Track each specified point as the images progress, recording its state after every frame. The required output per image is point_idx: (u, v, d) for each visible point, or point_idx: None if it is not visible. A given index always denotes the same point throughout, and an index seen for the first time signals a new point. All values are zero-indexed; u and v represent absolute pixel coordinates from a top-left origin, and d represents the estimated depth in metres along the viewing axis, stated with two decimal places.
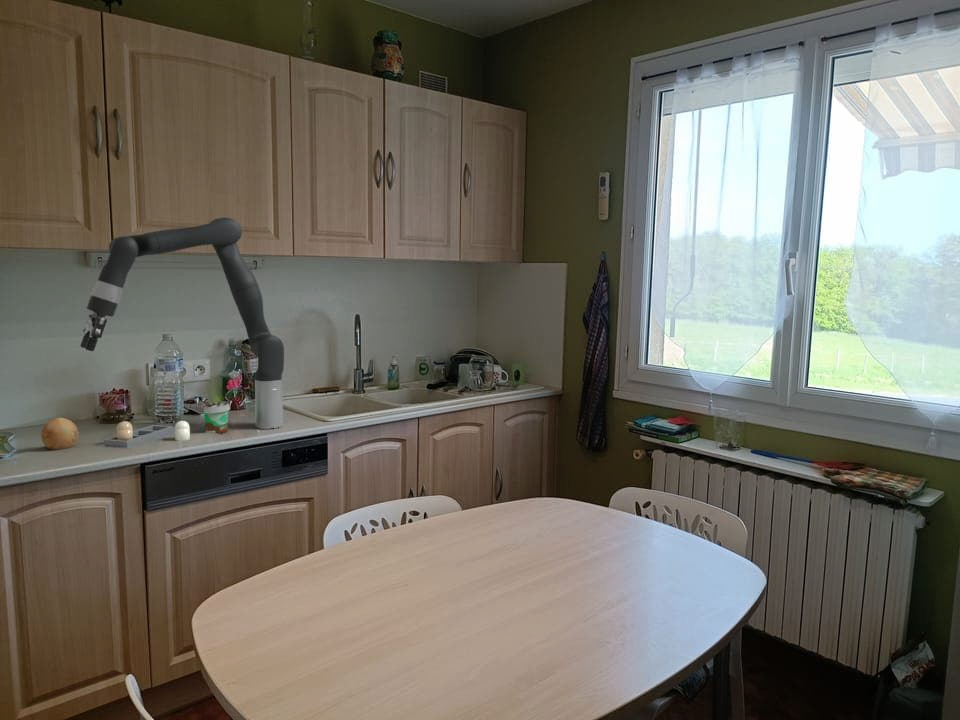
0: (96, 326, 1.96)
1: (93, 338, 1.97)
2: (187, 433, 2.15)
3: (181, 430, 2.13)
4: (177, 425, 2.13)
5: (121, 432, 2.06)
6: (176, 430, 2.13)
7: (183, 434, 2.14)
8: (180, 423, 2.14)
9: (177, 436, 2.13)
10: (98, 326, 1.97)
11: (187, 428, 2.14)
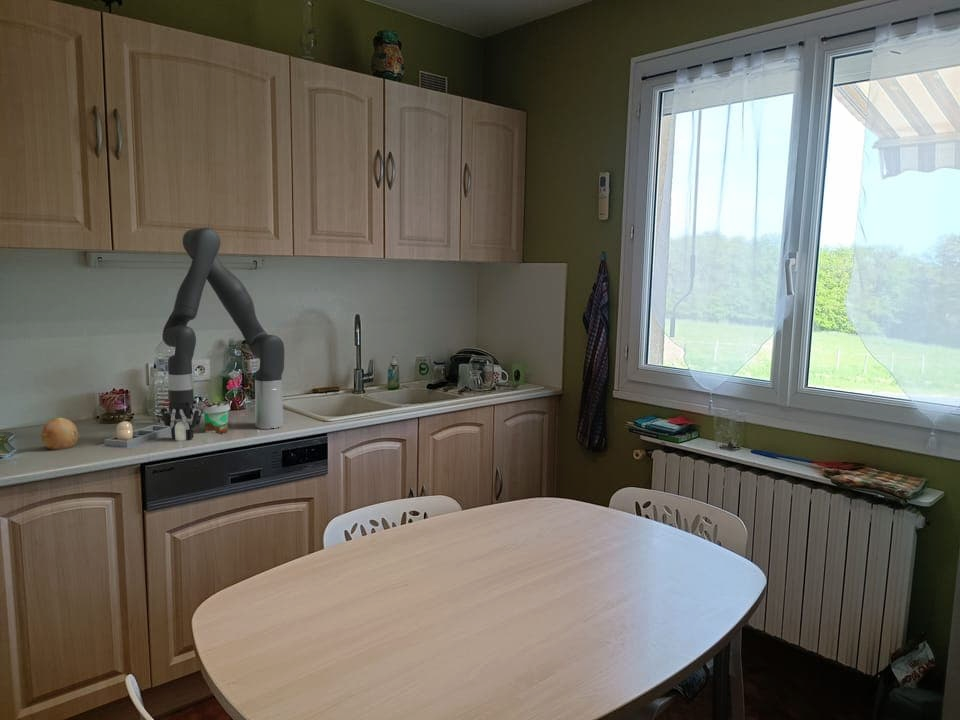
0: (196, 419, 2.13)
1: (191, 429, 2.14)
2: None
3: (181, 430, 2.13)
4: (177, 425, 2.13)
5: (121, 432, 2.06)
6: (176, 430, 2.13)
7: (183, 434, 2.14)
8: (180, 423, 2.14)
9: (177, 436, 2.13)
10: (197, 419, 2.13)
11: None
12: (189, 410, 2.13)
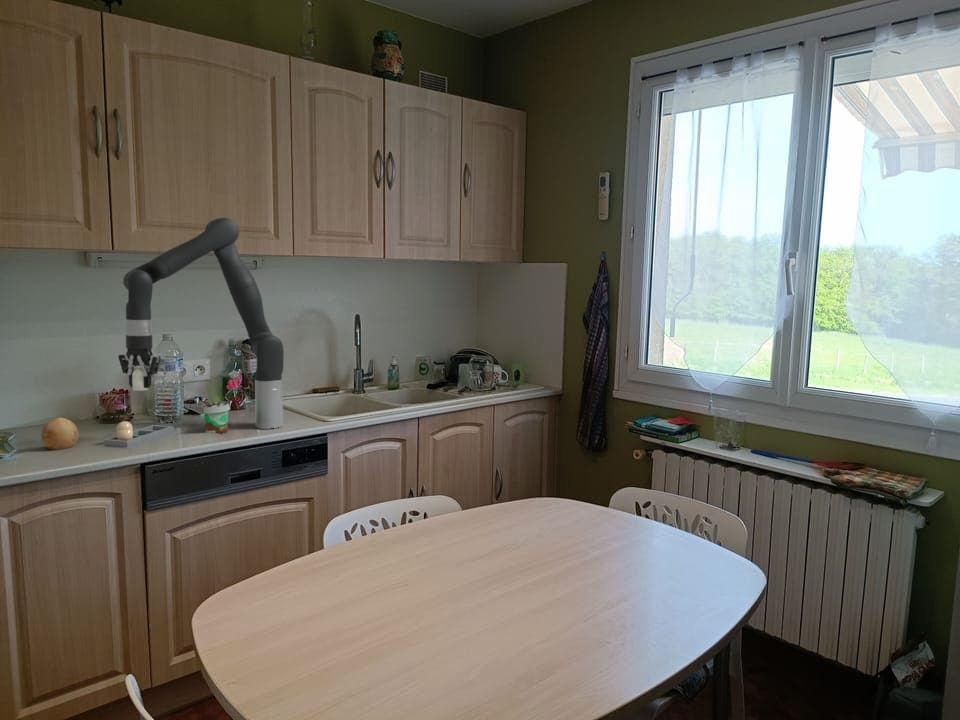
0: (154, 366, 2.10)
1: (149, 376, 2.11)
2: None
3: (138, 377, 2.10)
4: (134, 372, 2.10)
5: (121, 432, 2.06)
6: (133, 377, 2.10)
7: (140, 381, 2.11)
8: (138, 370, 2.11)
9: (135, 382, 2.10)
10: (155, 365, 2.11)
11: None
12: (147, 356, 2.10)
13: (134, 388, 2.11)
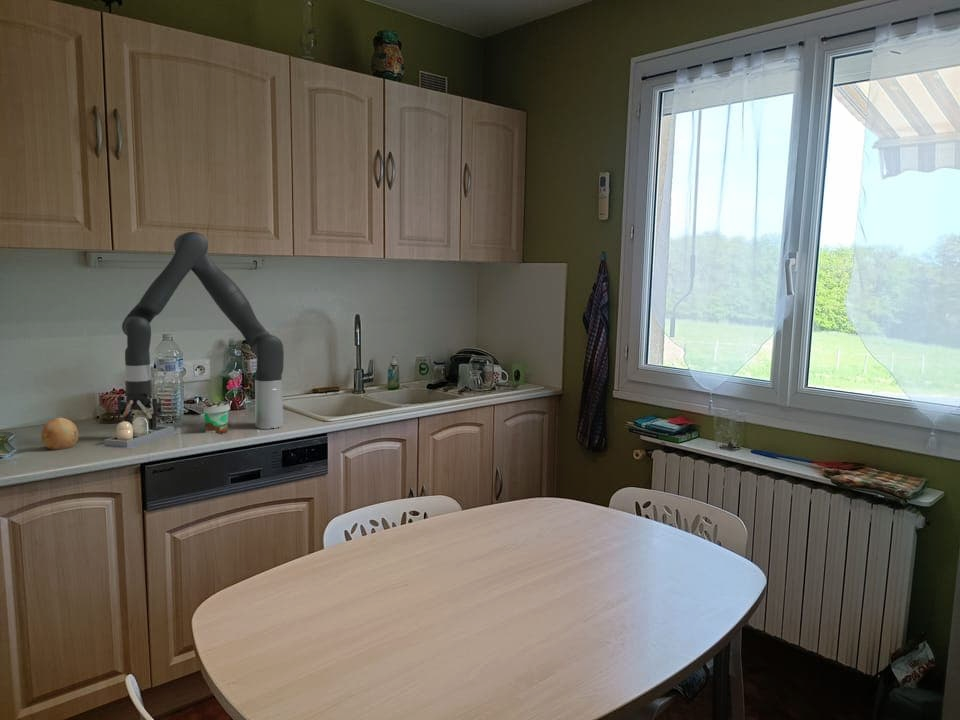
0: (156, 407, 2.12)
1: (154, 418, 2.13)
2: (145, 429, 2.14)
3: (139, 427, 2.13)
4: (135, 421, 2.13)
5: (121, 432, 2.06)
6: (134, 426, 2.13)
7: (141, 430, 2.13)
8: (138, 419, 2.13)
9: (135, 432, 2.13)
10: (157, 406, 2.12)
11: (145, 424, 2.14)
12: (147, 400, 2.12)
13: None
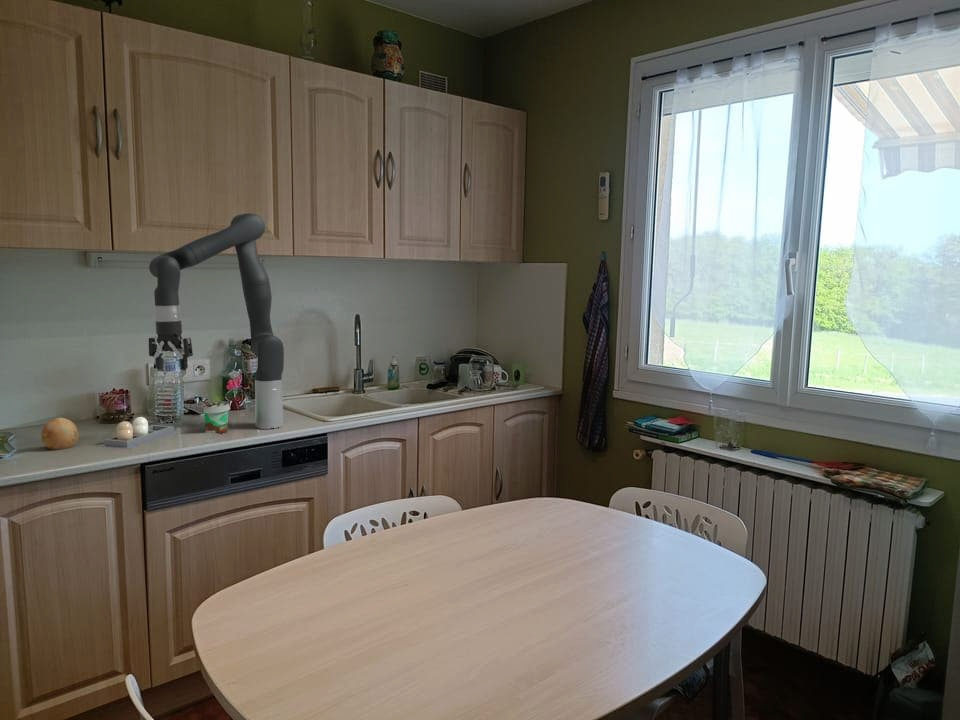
0: (187, 347, 2.11)
1: (185, 358, 2.13)
2: (145, 429, 2.14)
3: (139, 427, 2.13)
4: (135, 421, 2.13)
5: (121, 432, 2.06)
6: (134, 426, 2.13)
7: (141, 430, 2.13)
8: (138, 419, 2.13)
9: (135, 432, 2.13)
10: (188, 346, 2.12)
11: (145, 424, 2.14)
12: (178, 341, 2.12)
13: None
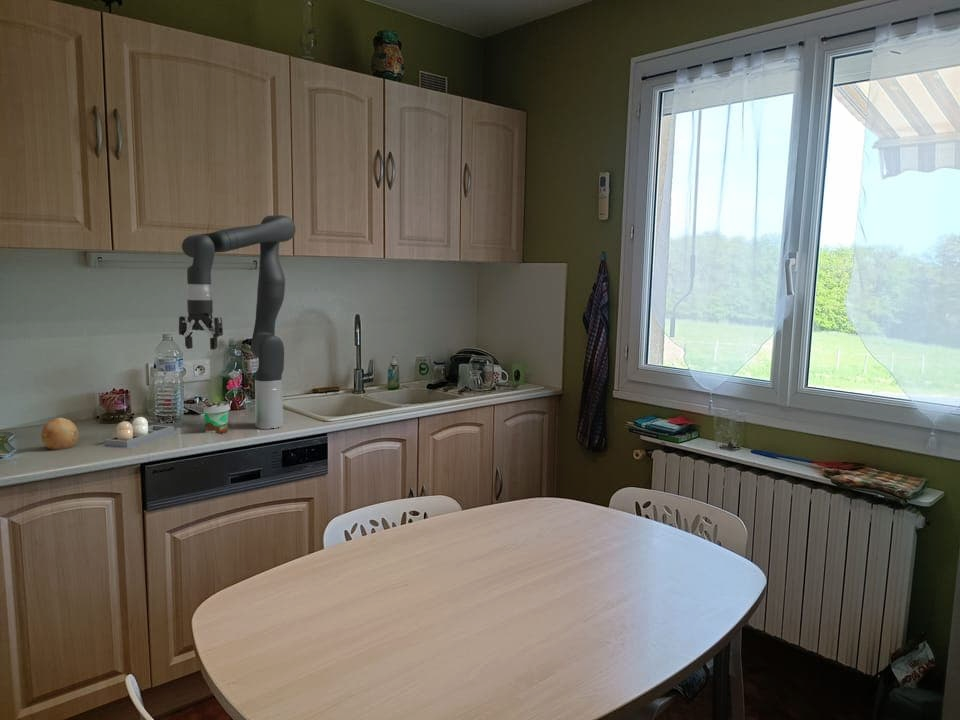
0: (218, 326, 2.12)
1: (215, 337, 2.13)
2: (145, 429, 2.14)
3: (138, 427, 2.13)
4: (135, 421, 2.13)
5: (121, 432, 2.06)
6: (134, 426, 2.13)
7: (141, 430, 2.13)
8: (138, 419, 2.13)
9: (135, 432, 2.13)
10: (219, 326, 2.12)
11: (145, 424, 2.14)
12: (208, 320, 2.12)
13: None
